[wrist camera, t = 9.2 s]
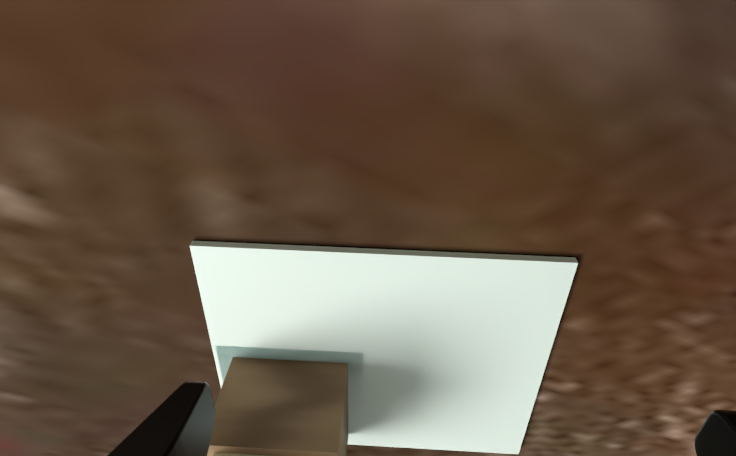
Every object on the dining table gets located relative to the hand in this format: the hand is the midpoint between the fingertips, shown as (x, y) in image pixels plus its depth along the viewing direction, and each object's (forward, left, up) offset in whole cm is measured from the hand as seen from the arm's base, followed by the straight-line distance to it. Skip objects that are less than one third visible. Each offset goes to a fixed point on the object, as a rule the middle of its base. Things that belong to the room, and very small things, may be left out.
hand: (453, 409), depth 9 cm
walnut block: (+6, +15, -12) cm, 20 cm away
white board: (+1, +12, -12) cm, 17 cm away
